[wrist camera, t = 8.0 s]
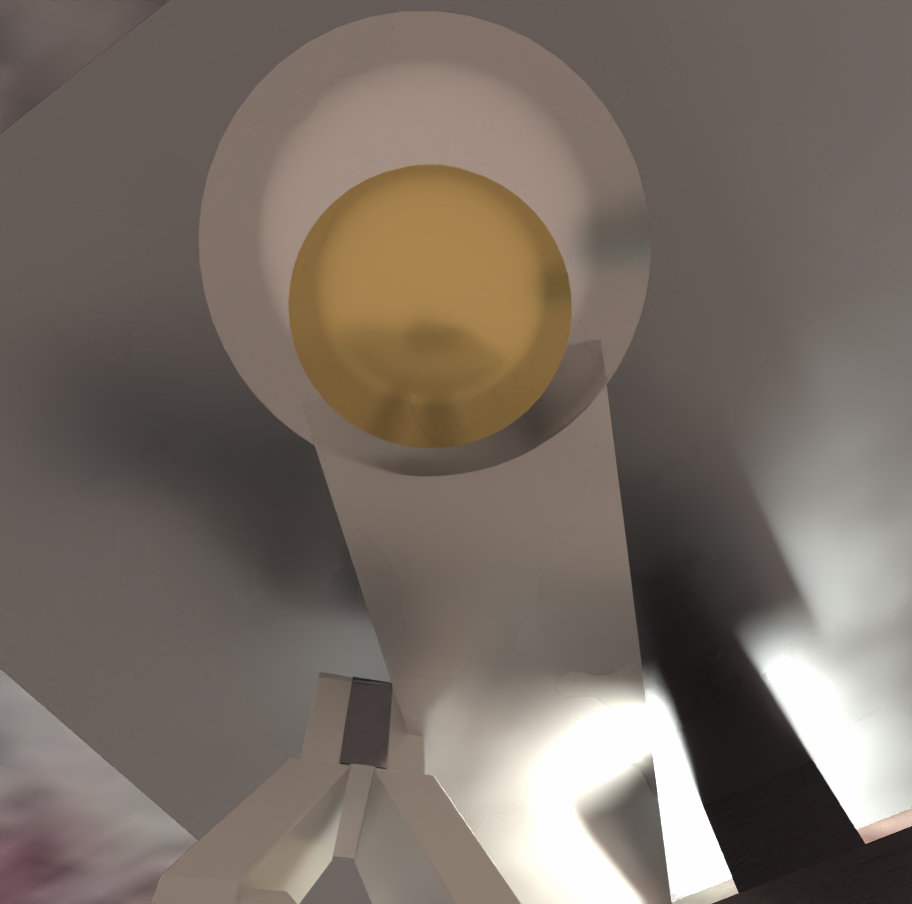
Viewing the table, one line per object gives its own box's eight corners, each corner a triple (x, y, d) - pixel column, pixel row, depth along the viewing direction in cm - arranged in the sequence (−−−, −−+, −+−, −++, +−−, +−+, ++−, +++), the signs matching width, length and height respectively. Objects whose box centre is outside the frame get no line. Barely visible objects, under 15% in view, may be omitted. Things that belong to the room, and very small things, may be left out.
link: (219, 101, 8) (125, 76, 6) (565, 18, 8) (626, -47, 6) (454, 847, 14) (458, 1001, 11) (663, 811, 14) (714, 960, 11)
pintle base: (811, -453, 7) (1913, -2249, 2) (1102, 668, 14) (1533, 995, 9) (-246, 365, 11) (-969, 583, 5) (397, 957, 18) (380, 1327, 12)
